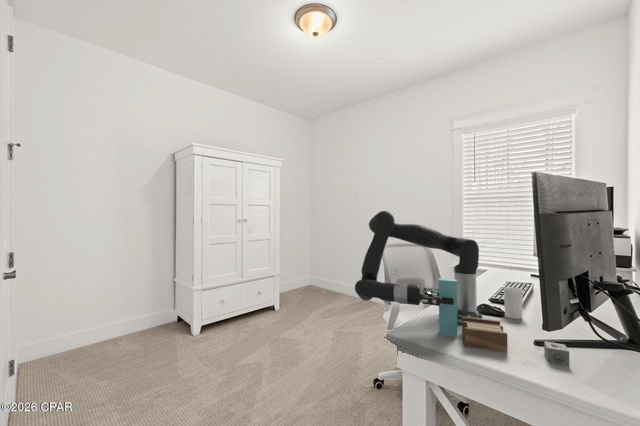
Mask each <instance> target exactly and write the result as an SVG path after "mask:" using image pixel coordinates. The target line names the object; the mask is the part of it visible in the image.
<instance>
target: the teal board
mask: <svg viewBox="0 0 640 426" xmlns="http://www.w3.org/2000/svg"><path fill="white" fill-rule="evenodd" d="M438 289H439V297H446V298H453V299H454V304H453V305H449V304H441V305H440V306H438V333H439V335H442V336H443V335H444V336H448V337H449V336H450V337H456V338H457V337H458V325H457V311H458V310H457V280H455V278H454V279H452V278H440V277H439V278H438Z"/></svg>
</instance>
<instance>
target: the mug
mask: <svg viewBox="0 0 640 426" xmlns="http://www.w3.org/2000/svg"><path fill="white" fill-rule="evenodd" d="M523 293H524V291H523V289H521V288H519V287H518V288H517V287H511V286H508V287H507V286H506V287H503V294H504V295H503V296H504V297H503V298H504V315H505V317H506V318H509V319H512V320H521V319H522V320H523V298H524V297H523V296H524V294H523Z"/></svg>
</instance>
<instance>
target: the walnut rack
mask: <svg viewBox="0 0 640 426" xmlns="http://www.w3.org/2000/svg"><path fill="white" fill-rule="evenodd" d="M467 323H473V324H481V325H490V326H498V327H500V328H501V329H502V331H503V332H498V331H490V330H483V329H475V328H467ZM461 334H462V339H463V342H464V347H465V348H466V347H467V348H473V349H479V350H484V351H491V352H492V351H493V352H500V353H507V354H508V353H509V352H508V351H509V350H508V332H505V331H504V326H503V325H501V321H500V320H499V319H497V320H496V319H488V318H487V319H486V318H483V319H481V318H472V317H463V316H462V326H461Z"/></svg>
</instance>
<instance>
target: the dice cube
mask: <svg viewBox="0 0 640 426" xmlns="http://www.w3.org/2000/svg"><path fill="white" fill-rule="evenodd" d="M543 345H544V350H543V351H544V357H545V360H546V362H548V363H552V364H556V365H557V364H558V365H562V366H566V367H567V369H570V351H569V349H568V347H567V346H566V344H564V343H558V342H557V343H556V342H553V341H545V340H544V343H543Z"/></svg>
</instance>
